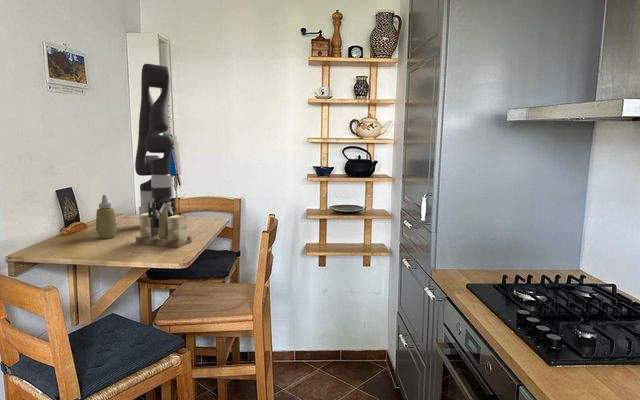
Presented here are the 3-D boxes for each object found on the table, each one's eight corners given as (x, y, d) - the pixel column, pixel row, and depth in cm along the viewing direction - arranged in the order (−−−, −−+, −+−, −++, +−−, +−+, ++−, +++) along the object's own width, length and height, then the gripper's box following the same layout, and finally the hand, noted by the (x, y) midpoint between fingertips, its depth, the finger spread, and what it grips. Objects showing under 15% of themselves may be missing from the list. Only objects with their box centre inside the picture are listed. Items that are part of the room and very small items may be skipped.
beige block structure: (135, 242, 176) (134, 215, 174) (150, 237, 185) (149, 211, 183) (178, 247, 170) (177, 219, 168) (191, 242, 179) (190, 215, 177)
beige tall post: (172, 240, 176) (171, 203, 174) (155, 241, 174) (154, 204, 172) (172, 237, 181) (170, 201, 179) (155, 238, 178) (154, 202, 176)
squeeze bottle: (121, 236, 186) (119, 194, 184) (105, 240, 179) (102, 197, 176) (108, 234, 190) (105, 193, 187) (91, 238, 183) (88, 195, 180)
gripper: (164, 183, 182) (166, 221, 184) (141, 187, 168) (143, 228, 171) (180, 184, 179) (181, 222, 182) (157, 188, 166) (159, 230, 168)
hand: (163, 225), depth 176 cm, fingers open, 8 cm apart
